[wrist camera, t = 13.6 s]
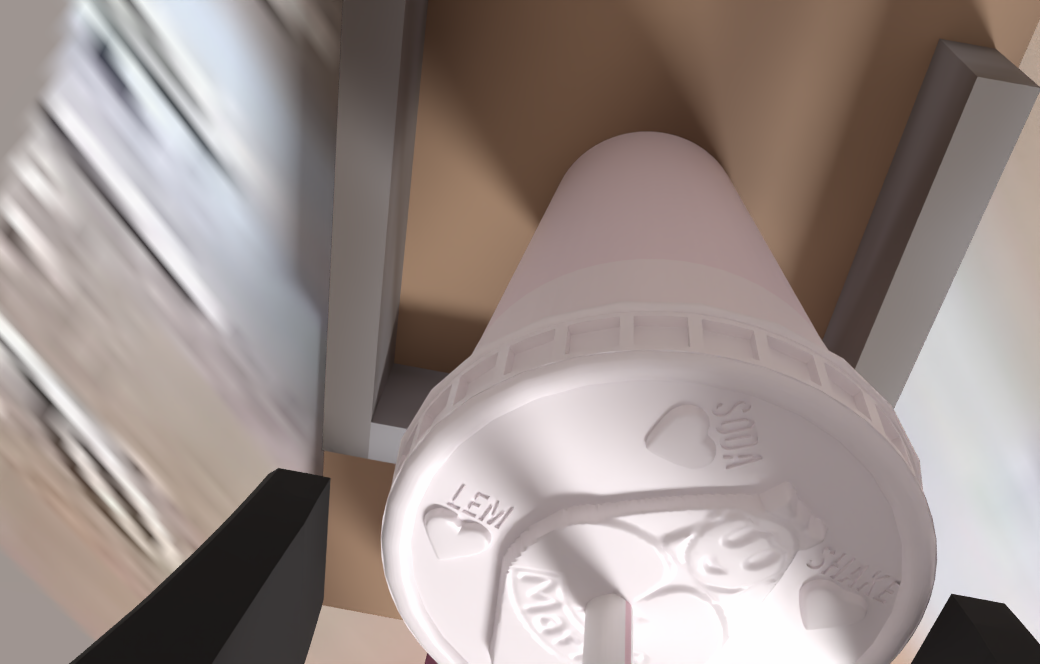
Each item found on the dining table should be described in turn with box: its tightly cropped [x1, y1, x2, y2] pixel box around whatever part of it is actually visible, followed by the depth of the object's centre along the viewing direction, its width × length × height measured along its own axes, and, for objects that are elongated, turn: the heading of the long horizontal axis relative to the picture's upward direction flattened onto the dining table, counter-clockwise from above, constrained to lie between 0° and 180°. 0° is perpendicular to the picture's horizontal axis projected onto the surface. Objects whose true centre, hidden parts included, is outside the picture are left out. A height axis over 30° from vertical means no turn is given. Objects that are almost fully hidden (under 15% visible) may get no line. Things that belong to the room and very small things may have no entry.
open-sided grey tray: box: [322, 0, 1040, 664], centre depth 18 cm, size 12×20×7 cm, turn 171°
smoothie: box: [381, 132, 937, 664], centre depth 13 cm, size 6×6×14 cm
